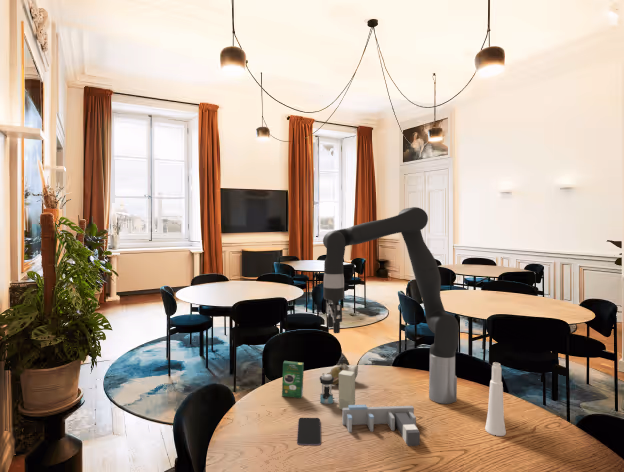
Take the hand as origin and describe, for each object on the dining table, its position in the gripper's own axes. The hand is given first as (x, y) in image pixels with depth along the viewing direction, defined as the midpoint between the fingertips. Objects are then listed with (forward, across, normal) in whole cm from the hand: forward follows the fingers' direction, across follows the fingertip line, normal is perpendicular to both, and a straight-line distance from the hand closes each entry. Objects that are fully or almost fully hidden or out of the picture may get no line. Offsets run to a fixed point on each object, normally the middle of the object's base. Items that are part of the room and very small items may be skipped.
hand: (333, 329), depth 137 cm
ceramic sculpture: (+28, +20, -8) cm, 35 cm away
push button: (+28, +2, +1) cm, 28 cm away
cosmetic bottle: (+28, -26, -47) cm, 61 cm away
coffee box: (+28, +10, +14) cm, 32 cm away
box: (+28, -3, -4) cm, 28 cm away
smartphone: (+28, -17, +12) cm, 35 cm away
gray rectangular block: (+28, -24, -18) cm, 41 cm away
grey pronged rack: (+28, -17, -11) cm, 35 cm away
